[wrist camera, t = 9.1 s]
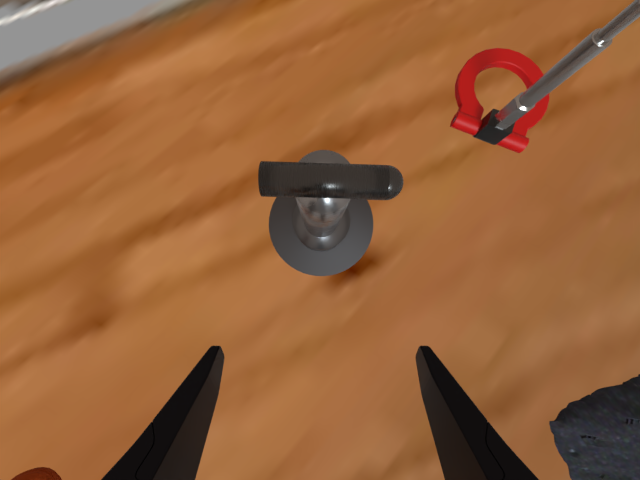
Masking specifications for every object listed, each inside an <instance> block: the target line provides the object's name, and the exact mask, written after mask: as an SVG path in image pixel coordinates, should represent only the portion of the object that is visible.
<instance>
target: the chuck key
mask: <svg viewBox="0 0 640 480" xmlns="http://www.w3.org/2000/svg"><path fill="white" fill-rule="evenodd" d="M258 185H259V192H260V195H261V196H262V197H292V198H296V201H297V205H296V207H295V209H294V212H293V216H292V225H293V229H294V232H295V234H296V236H297V237H298V239H299V240H300V241H301V242H302V244H303V245H305V246H306V247H307V248H309V249H311V250H314V251H328V250H331V249H333V248H335V247H336V246H337V245H339V243H340V242H341V241H342V240H343V239H344V238H345V237H346V235H347V233H348V231H349V228H350V213H349V210H348V208H347V206H348V204H349V202H350V199H358V200H390V199H393V198H395V197H396V196H397V195H398V194H399V193H400V192H401V190H402V188H403V176H402V174H401V172H400V171H399V170H398V169H397V168H395V167H394V166H391V165H371V164H350V163H349V161H348V160H347V159H346V158H345V157H343V156H342V155H340V154H339V153H336V152H334V151H330V150H317V151H314V152H311V153H309V154H307V155H305V156H304V157H303V158H302V159H301V160H300V161H299V162H274V161H261V162H260V164H259V170H258Z"/></svg>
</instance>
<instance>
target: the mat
mask: <svg viewBox="0 0 640 480" xmlns="http://www.w3.org/2000/svg"><path fill="white" fill-rule="evenodd" d="M296 205H297V201H296V198H292V197H276V199H275V201H274V203H273V205H272V208H271V211H270V216H269V233H270V238H271V241H272V243H273V246H274V248H275V250H276V252H277V253H278V254H279V256H280V257H281V258H282V259H283V260H284V261H285V262H286V263H287V264H288V265H289V266H291V267H292V268H294V269H296V270H297V271H300V272H302V273H305V274H308V275H313V276H330V275H334V274H338V273H340V272H343V271H345V270H347V269H349V268H350V267H351V266H353V265H354V264H355V263H356V262H358V261H359V260H360V259H361V257H362V256H363V255H364V253H365V252H366V250H367V248H368V246H369V244H370V242H371V238H372V234H373V215H372V211H371V207H370V205H369V203H368V201H367V200H358V199H350V202H349V204H348V206H347V208H348V210H349V213H350V228H349V231H348V233H347V235H346V237H345V238H344V239H343V240H342V241H341V242H340V243H339V245H337V246H336V247H335V248H333V249H331V250H328V251H314V250H311V249H309V248H307V247H306V246H305V245H303V244H302V242H301V241H300V240H299V239H298V237H297V236H296V234H295V232H294V229H293V225H292V216H293V212H294V209H295V207H296Z"/></svg>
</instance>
